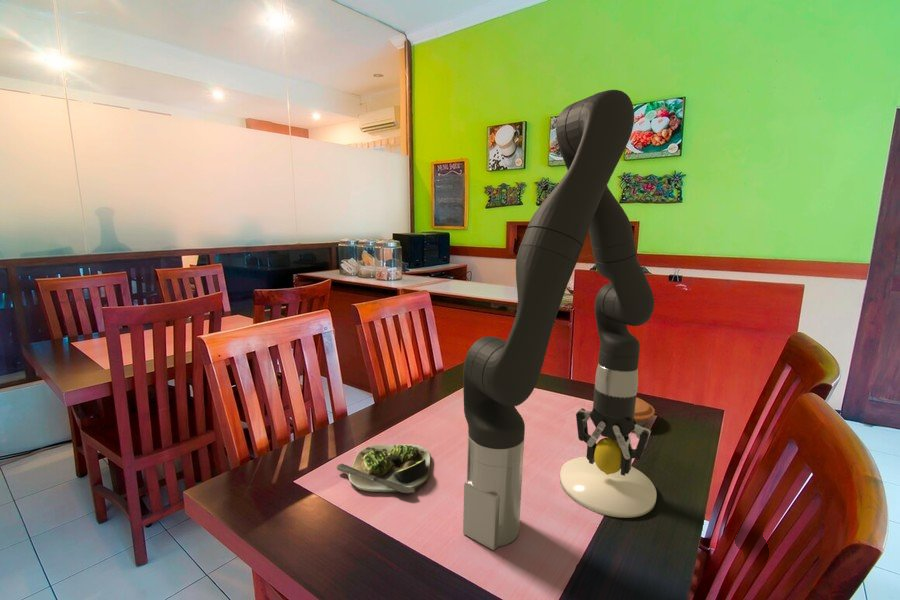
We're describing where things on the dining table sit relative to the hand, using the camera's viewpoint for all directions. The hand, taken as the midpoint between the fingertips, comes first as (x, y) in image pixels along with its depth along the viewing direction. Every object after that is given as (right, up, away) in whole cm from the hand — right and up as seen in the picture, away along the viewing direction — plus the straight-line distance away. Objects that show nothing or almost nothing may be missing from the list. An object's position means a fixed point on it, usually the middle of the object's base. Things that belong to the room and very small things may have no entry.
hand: (607, 467), depth 83 cm
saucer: (0, -4, +1) cm, 4 cm away
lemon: (0, -2, 0) cm, 2 cm away
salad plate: (-43, -3, +5) cm, 44 cm away
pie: (+16, +1, +31) cm, 35 cm away
